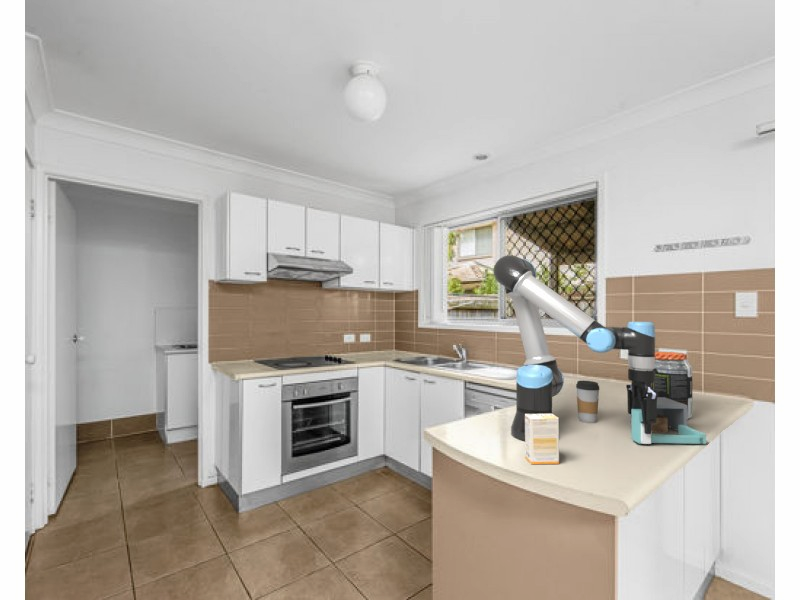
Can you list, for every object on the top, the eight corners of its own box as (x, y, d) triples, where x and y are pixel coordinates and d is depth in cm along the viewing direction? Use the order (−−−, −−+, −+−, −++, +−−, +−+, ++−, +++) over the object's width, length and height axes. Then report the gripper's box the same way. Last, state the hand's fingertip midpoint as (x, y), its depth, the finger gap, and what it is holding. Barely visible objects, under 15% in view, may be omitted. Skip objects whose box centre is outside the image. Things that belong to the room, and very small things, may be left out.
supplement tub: (701, 418, 155) (701, 354, 156) (675, 422, 149) (675, 355, 150) (662, 408, 170) (662, 350, 170) (637, 412, 164) (637, 351, 165)
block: (653, 432, 138) (653, 418, 138) (644, 427, 143) (644, 414, 143) (667, 432, 137) (667, 418, 138) (658, 428, 142) (658, 414, 143)
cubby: (650, 433, 136) (650, 404, 136) (630, 423, 148) (630, 396, 148) (687, 433, 136) (687, 405, 136) (664, 423, 148) (664, 397, 148)
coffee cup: (602, 424, 146) (602, 384, 146) (578, 423, 147) (578, 383, 147) (595, 418, 154) (595, 380, 154) (573, 417, 155) (573, 379, 156)
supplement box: (552, 458, 113) (552, 413, 113) (559, 464, 108) (559, 417, 108) (524, 458, 112) (524, 413, 113) (530, 464, 108) (530, 417, 108)
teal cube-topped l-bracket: (638, 443, 124) (638, 412, 124) (619, 432, 135) (619, 403, 135) (708, 444, 123) (708, 413, 123) (683, 433, 134) (683, 404, 134)
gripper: (670, 373, 117) (670, 450, 117) (637, 365, 134) (637, 432, 134) (645, 373, 118) (645, 450, 117) (615, 364, 135) (615, 432, 134)
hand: (641, 440), depth 126 cm, fingers closed on teal cube-topped l-bracket, 4 cm apart
